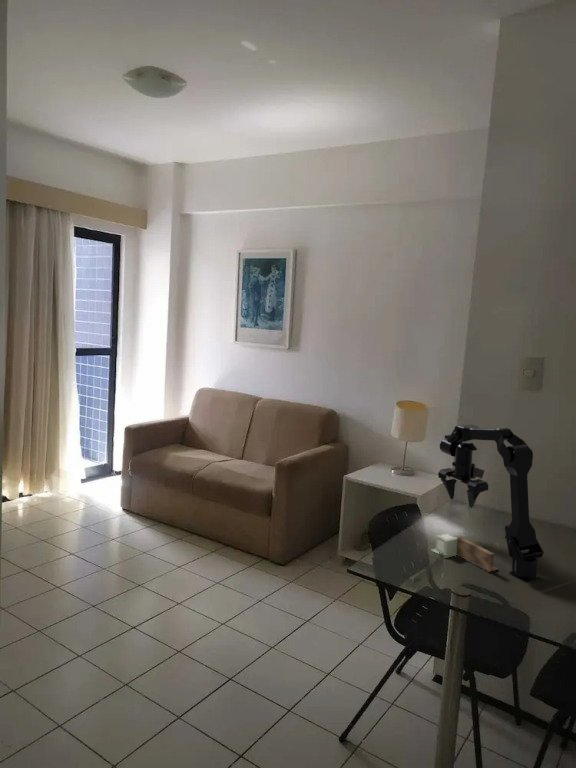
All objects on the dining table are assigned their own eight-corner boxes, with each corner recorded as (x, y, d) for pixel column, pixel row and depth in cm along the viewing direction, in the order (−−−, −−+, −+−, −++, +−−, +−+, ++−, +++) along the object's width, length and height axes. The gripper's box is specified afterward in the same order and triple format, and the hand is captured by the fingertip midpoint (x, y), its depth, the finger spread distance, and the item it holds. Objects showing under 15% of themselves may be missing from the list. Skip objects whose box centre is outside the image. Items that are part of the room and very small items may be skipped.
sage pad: (462, 554, 190) (462, 553, 190) (445, 559, 187) (445, 557, 187) (447, 546, 196) (447, 545, 196) (431, 550, 193) (431, 549, 193)
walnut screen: (498, 570, 179) (499, 552, 178) (488, 573, 177) (489, 554, 176) (465, 552, 191) (466, 535, 190) (456, 555, 189) (457, 537, 188)
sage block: (457, 552, 190) (458, 538, 189) (445, 555, 188) (446, 541, 187) (446, 546, 194) (447, 532, 194) (435, 550, 192) (435, 535, 191)
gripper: (501, 464, 196) (498, 507, 198) (461, 450, 212) (459, 491, 214) (477, 468, 191) (474, 513, 193) (438, 454, 207) (436, 496, 209)
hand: (461, 503), depth 203 cm, fingers open, 9 cm apart
